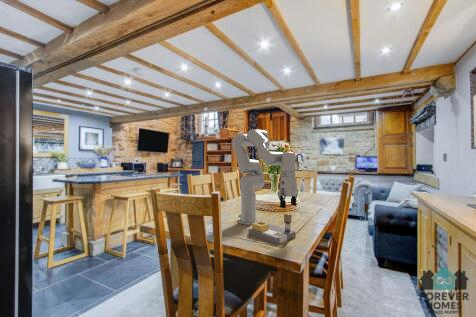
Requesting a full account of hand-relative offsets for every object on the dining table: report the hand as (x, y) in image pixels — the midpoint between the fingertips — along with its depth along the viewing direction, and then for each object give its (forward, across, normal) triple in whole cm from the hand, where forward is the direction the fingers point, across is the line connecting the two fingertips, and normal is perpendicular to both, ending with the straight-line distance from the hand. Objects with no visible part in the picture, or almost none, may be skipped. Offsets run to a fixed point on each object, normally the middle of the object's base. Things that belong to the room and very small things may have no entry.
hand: (288, 206), depth 123 cm
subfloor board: (+16, -5, +8) cm, 19 cm away
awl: (+13, 0, +1) cm, 13 cm away
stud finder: (+13, -8, +13) cm, 20 cm away
